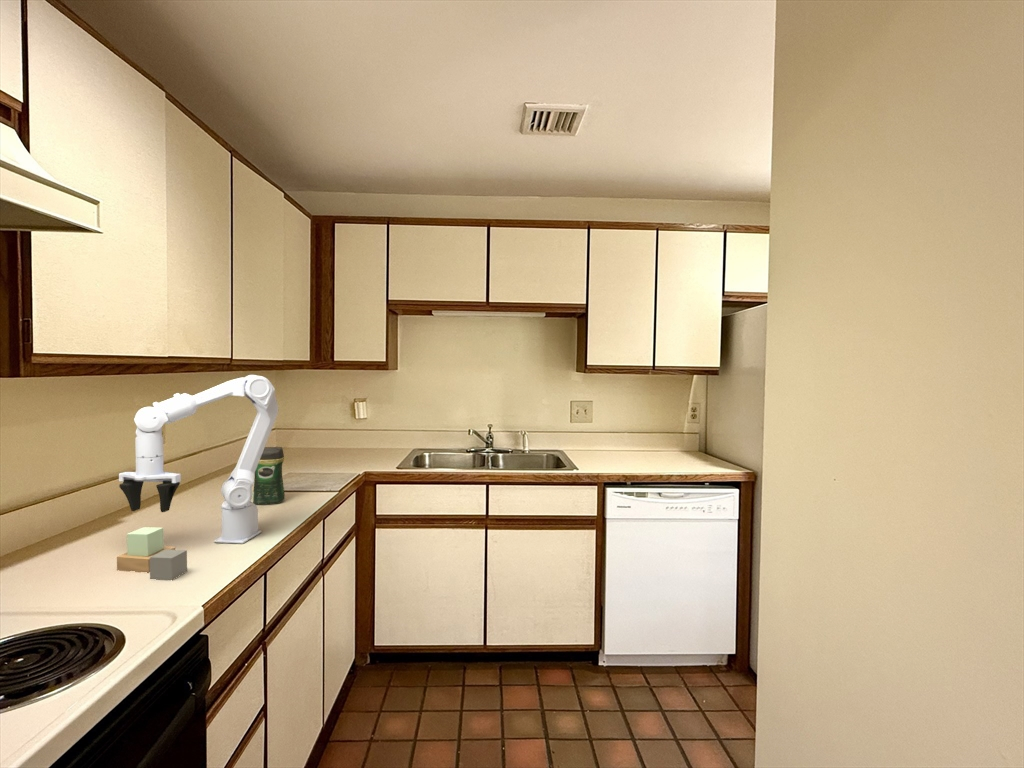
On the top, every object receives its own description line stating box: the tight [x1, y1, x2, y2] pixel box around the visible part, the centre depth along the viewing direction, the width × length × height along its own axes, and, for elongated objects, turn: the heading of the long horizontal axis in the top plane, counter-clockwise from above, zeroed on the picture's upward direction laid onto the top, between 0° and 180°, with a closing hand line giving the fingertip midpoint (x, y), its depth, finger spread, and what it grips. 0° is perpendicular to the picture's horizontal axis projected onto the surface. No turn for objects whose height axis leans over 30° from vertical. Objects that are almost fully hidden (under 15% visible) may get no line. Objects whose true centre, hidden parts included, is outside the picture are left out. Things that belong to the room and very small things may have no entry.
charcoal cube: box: [149, 549, 188, 581], centre depth 121 cm, size 5×5×5 cm
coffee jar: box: [252, 446, 286, 505], centre depth 183 cm, size 10×8×19 cm
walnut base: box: [116, 545, 176, 574], centre depth 127 cm, size 8×8×4 cm
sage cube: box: [126, 526, 165, 556], centre depth 127 cm, size 5×5×5 cm
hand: (150, 510), depth 135 cm, fingers open, 7 cm apart
